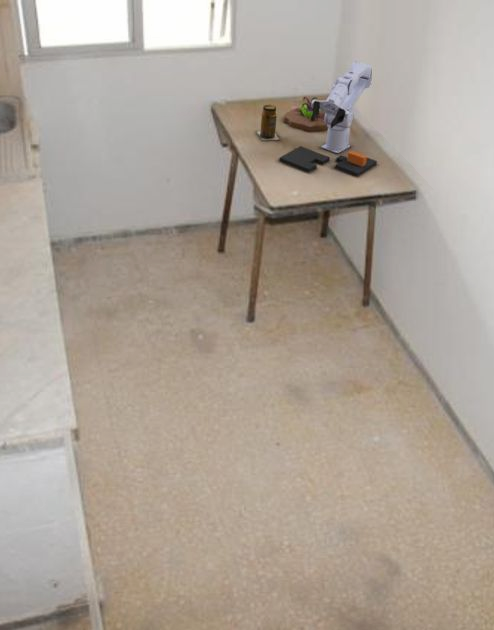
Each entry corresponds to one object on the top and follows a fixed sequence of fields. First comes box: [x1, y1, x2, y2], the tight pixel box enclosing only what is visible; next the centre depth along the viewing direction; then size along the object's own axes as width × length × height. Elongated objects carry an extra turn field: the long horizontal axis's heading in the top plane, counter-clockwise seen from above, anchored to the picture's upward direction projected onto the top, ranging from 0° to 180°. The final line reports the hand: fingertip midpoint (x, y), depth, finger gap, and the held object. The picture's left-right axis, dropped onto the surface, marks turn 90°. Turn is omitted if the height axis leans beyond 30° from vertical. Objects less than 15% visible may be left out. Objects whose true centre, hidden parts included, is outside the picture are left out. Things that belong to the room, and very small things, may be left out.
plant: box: [283, 96, 328, 133], centre depth 304 cm, size 20×20×11 cm
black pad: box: [278, 145, 331, 174], centre depth 277 cm, size 14×14×2 cm
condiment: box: [256, 104, 280, 141], centre depth 290 cm, size 7×8×12 cm
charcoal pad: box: [334, 150, 378, 178], centre depth 275 cm, size 14×13×5 cm
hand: (321, 122), depth 262 cm, fingers open, 7 cm apart
